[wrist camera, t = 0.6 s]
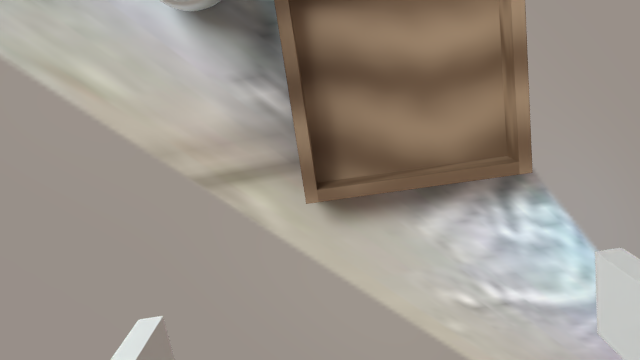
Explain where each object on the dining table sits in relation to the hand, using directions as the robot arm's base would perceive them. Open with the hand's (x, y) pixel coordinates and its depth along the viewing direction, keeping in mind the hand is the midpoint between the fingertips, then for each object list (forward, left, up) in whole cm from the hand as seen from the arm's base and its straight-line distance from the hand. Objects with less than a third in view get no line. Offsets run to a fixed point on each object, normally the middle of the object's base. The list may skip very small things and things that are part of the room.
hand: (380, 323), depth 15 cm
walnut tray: (-6, +5, -27) cm, 29 cm away
